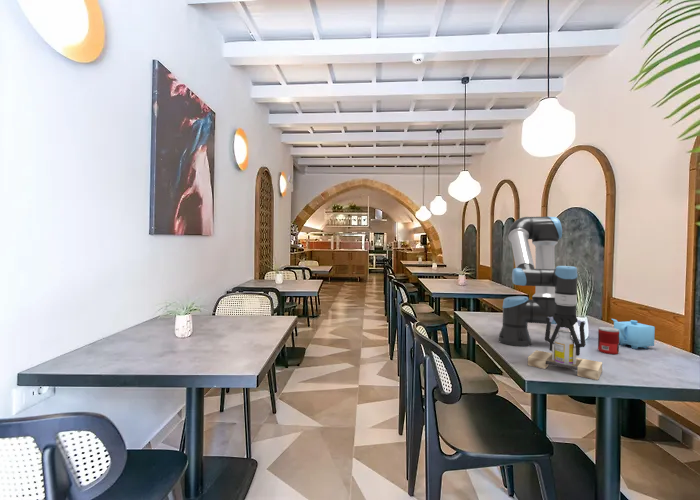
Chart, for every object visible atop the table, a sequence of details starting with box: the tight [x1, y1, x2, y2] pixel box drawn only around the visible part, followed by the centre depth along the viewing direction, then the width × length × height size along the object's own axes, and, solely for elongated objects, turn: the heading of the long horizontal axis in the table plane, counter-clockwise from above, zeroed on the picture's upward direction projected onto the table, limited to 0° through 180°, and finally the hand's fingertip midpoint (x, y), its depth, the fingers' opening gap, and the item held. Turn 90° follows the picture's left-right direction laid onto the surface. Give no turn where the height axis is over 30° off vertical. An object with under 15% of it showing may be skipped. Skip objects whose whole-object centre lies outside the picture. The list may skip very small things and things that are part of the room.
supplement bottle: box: [554, 330, 575, 366], centre depth 146 cm, size 7×7×13 cm
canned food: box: [597, 326, 620, 355], centre depth 170 cm, size 8×8×11 cm
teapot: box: [611, 318, 656, 350], centre depth 183 cm, size 18×16×13 cm
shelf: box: [527, 349, 603, 381], centre depth 146 cm, size 24×13×4 cm, turn 49°
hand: (564, 361), depth 146 cm, fingers closed on supplement bottle, 7 cm apart
